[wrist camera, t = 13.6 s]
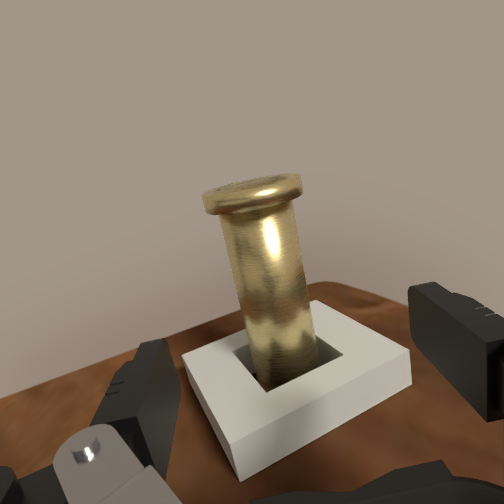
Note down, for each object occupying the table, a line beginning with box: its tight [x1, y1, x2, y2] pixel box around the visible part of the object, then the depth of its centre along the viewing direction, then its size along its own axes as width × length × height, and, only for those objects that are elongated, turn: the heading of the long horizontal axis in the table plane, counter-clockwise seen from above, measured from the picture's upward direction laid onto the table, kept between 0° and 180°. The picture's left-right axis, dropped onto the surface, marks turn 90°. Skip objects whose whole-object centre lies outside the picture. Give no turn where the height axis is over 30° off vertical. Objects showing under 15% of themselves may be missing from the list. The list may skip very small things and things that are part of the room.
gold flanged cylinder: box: [202, 173, 320, 393], centre depth 23 cm, size 6×6×14 cm
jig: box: [182, 300, 412, 482], centre depth 25 cm, size 12×10×2 cm
